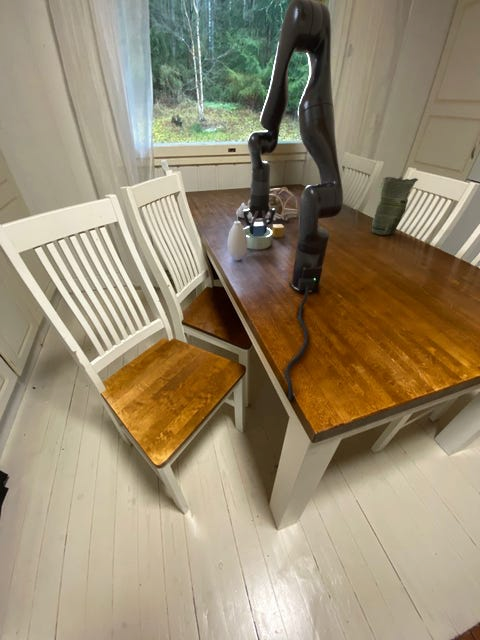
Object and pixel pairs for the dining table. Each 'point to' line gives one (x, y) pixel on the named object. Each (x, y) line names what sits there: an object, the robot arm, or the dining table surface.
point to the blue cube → (258, 229)
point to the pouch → (391, 204)
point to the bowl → (258, 239)
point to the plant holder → (273, 205)
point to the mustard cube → (277, 230)
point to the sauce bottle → (237, 241)
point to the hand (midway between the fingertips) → (258, 233)
